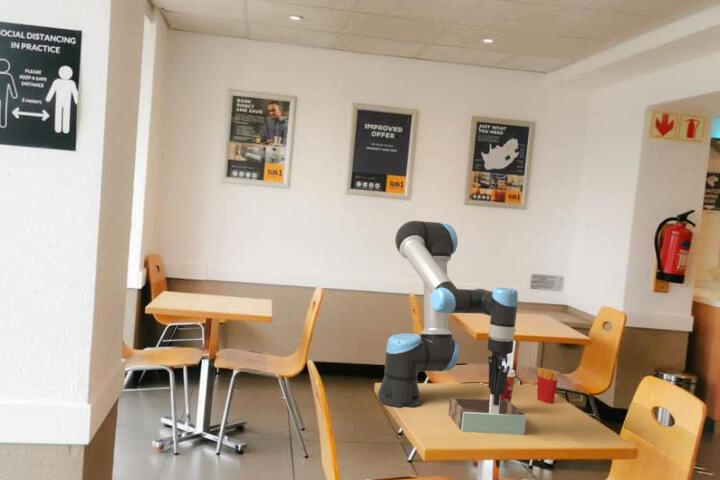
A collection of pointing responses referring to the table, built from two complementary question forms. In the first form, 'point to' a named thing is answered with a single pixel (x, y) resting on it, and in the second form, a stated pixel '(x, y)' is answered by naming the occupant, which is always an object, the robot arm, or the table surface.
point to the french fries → (546, 385)
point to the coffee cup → (509, 386)
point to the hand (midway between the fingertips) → (493, 414)
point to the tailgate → (493, 423)
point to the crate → (477, 408)
